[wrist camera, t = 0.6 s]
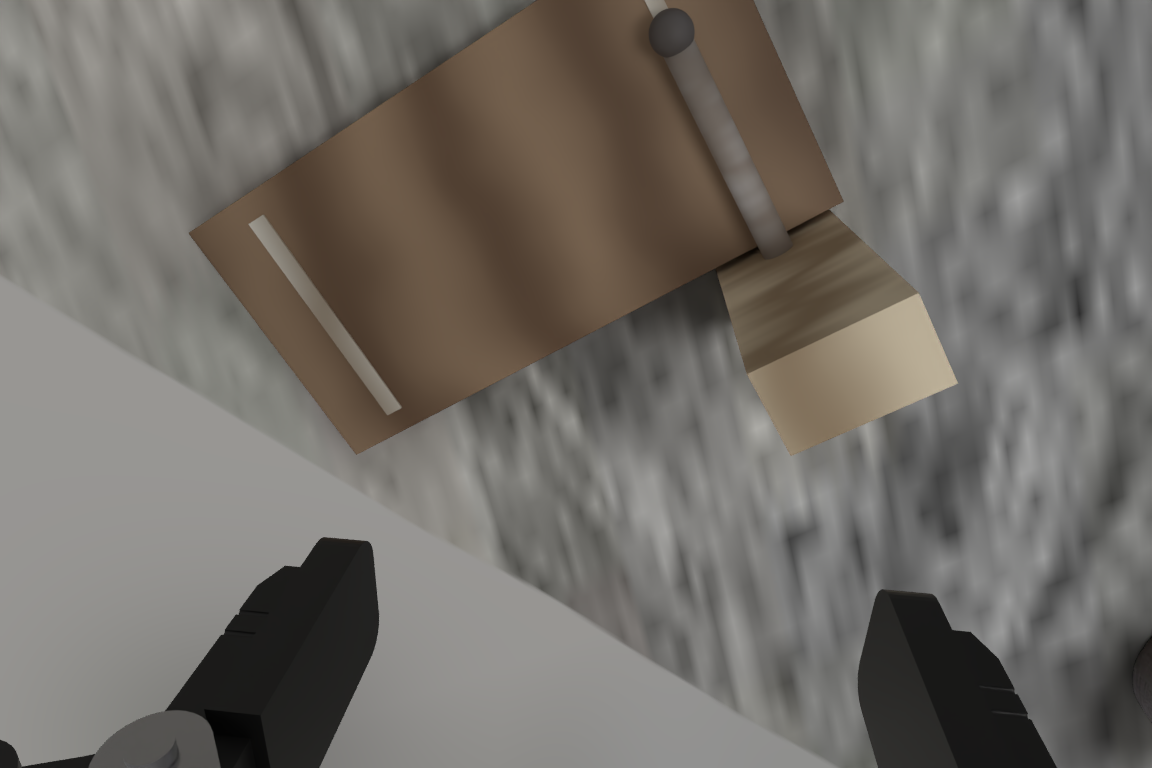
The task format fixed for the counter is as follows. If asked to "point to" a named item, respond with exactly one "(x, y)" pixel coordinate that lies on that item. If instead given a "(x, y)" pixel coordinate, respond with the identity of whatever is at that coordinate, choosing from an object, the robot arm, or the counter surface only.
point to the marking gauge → (806, 290)
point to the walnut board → (509, 207)
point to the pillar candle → (1144, 679)
